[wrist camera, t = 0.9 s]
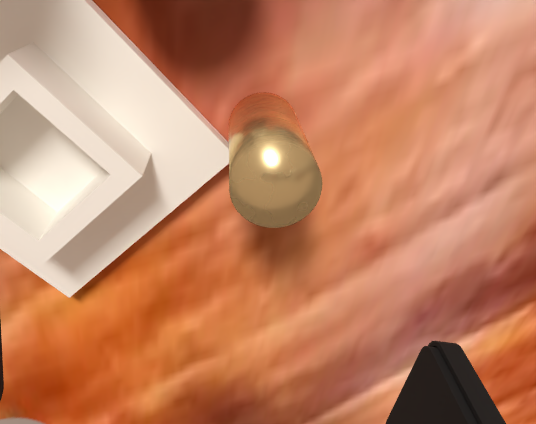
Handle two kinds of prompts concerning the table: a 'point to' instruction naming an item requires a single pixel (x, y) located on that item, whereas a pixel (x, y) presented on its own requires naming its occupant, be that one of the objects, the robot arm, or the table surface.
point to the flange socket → (88, 141)
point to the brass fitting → (271, 163)
